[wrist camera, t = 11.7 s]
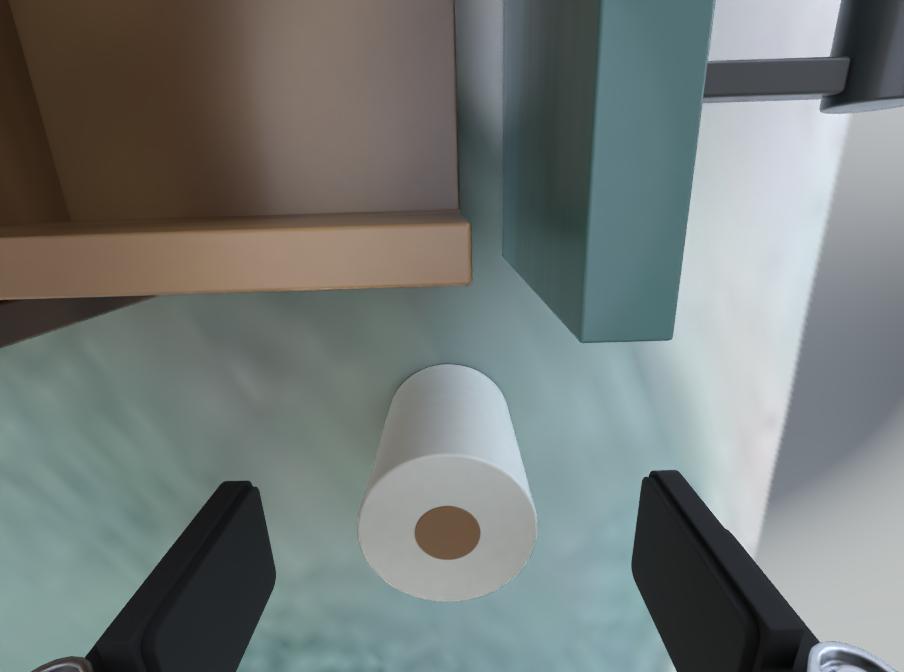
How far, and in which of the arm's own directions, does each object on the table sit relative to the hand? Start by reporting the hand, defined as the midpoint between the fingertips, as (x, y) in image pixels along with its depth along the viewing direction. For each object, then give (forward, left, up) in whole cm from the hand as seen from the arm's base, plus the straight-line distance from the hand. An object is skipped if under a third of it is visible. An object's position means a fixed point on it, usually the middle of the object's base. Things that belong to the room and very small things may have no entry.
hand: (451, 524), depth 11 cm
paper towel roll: (-1, 0, -6) cm, 6 cm away
